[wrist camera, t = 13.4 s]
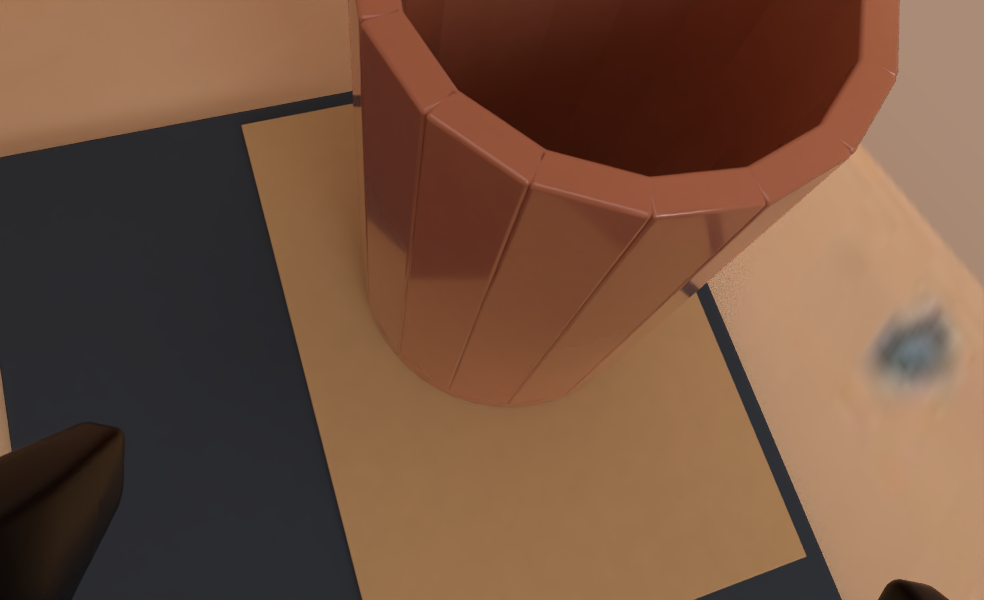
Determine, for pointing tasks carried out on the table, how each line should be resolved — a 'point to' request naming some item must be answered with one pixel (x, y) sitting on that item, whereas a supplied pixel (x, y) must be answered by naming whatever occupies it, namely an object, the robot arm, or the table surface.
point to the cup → (586, 166)
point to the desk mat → (353, 400)
